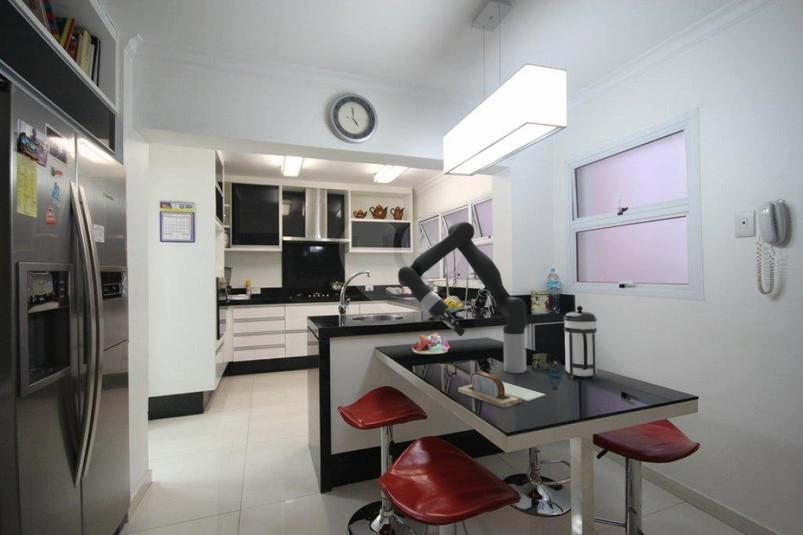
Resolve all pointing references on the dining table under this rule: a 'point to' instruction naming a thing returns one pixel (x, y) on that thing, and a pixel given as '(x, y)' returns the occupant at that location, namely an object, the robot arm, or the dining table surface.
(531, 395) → the mat
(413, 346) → the candy landscape model
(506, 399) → the slot holder
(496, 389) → the tin
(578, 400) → the dining table surface
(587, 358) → the coffee press
